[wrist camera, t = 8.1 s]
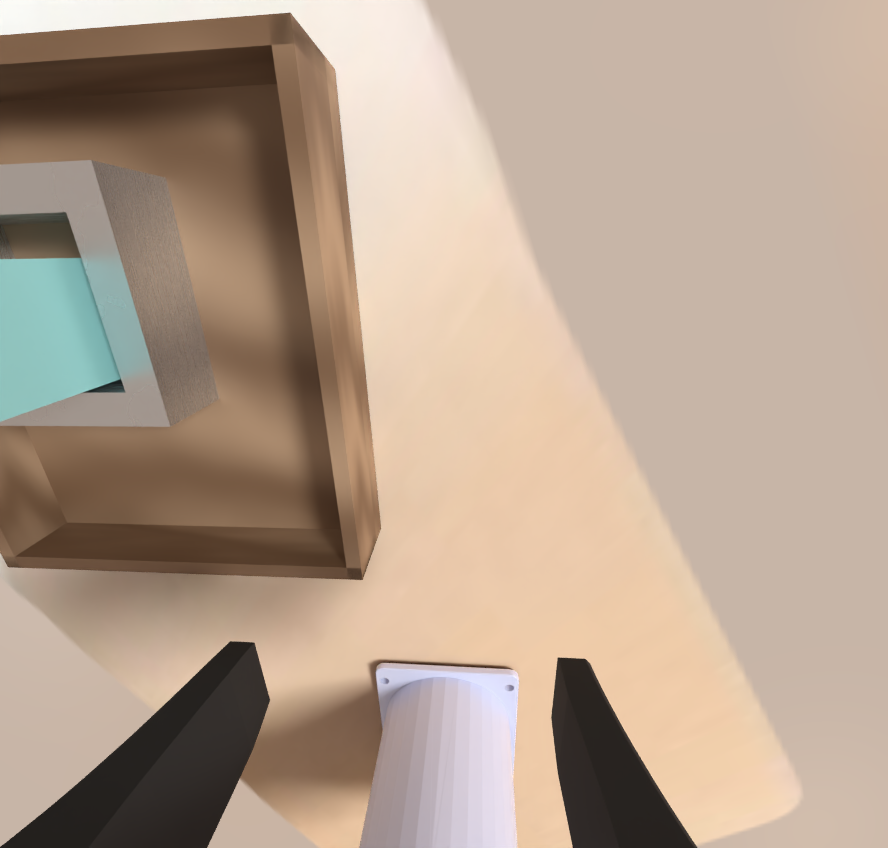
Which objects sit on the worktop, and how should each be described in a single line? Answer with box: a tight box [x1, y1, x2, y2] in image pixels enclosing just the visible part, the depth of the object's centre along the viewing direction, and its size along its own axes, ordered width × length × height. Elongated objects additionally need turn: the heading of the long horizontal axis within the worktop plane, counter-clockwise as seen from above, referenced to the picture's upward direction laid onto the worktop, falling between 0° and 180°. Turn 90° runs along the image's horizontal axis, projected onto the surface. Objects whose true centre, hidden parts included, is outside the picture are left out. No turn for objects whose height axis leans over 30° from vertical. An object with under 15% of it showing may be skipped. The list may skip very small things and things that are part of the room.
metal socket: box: [0, 160, 219, 427], centre depth 15 cm, size 8×8×3 cm
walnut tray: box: [0, 13, 381, 580], centre depth 16 cm, size 18×16×4 cm
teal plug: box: [0, 258, 121, 422], centre depth 13 cm, size 4×4×7 cm
